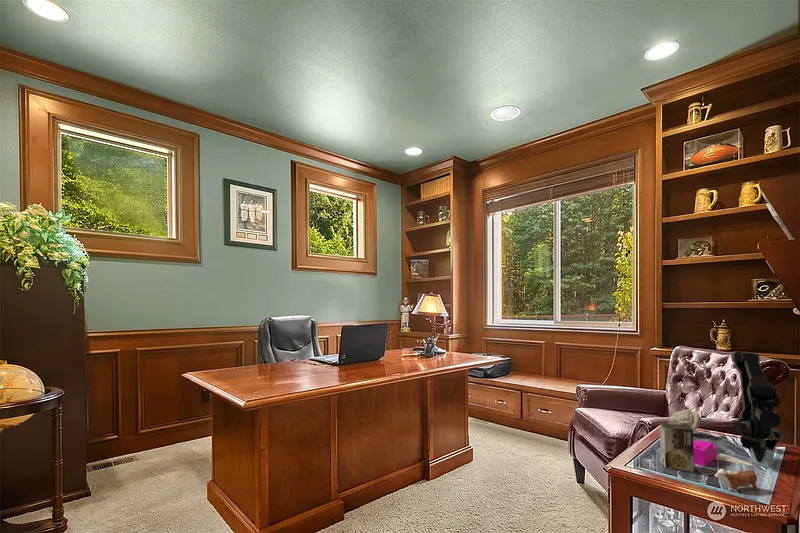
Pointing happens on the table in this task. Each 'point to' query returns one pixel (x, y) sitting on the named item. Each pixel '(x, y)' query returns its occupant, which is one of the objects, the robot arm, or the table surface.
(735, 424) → the robot arm
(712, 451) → the toy block
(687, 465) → the beige tall box
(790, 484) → the table surface
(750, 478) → the bull figurine
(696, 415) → the fossil replica
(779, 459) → the table surface
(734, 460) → the letter
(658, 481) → the table surface
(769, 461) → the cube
